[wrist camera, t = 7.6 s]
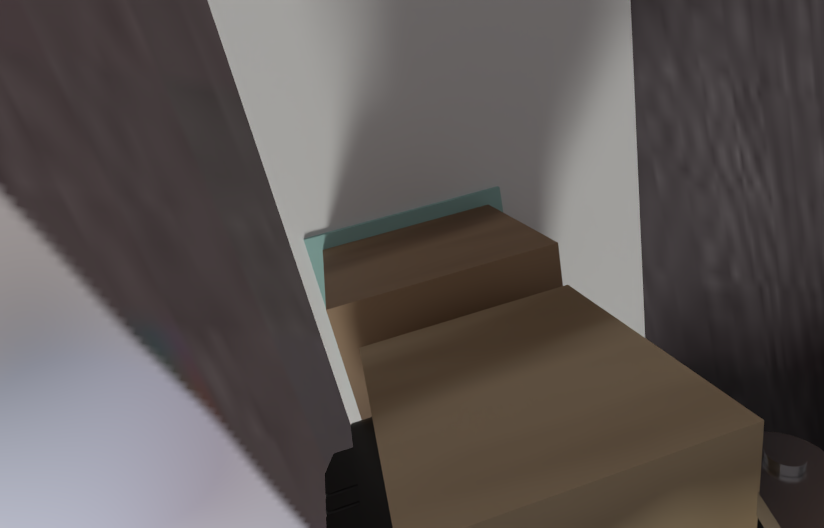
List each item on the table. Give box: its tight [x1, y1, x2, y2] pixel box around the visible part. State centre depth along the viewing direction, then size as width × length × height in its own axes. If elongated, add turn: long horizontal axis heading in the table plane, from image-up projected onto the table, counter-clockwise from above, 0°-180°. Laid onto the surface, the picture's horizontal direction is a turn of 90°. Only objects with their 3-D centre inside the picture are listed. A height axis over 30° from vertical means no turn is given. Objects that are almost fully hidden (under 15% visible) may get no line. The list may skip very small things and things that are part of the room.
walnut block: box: [323, 204, 563, 420], centre depth 15 cm, size 6×6×5 cm
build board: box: [208, 0, 645, 424], centre depth 16 cm, size 18×13×1 cm
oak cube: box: [359, 285, 764, 528], centre depth 9 cm, size 5×5×5 cm
